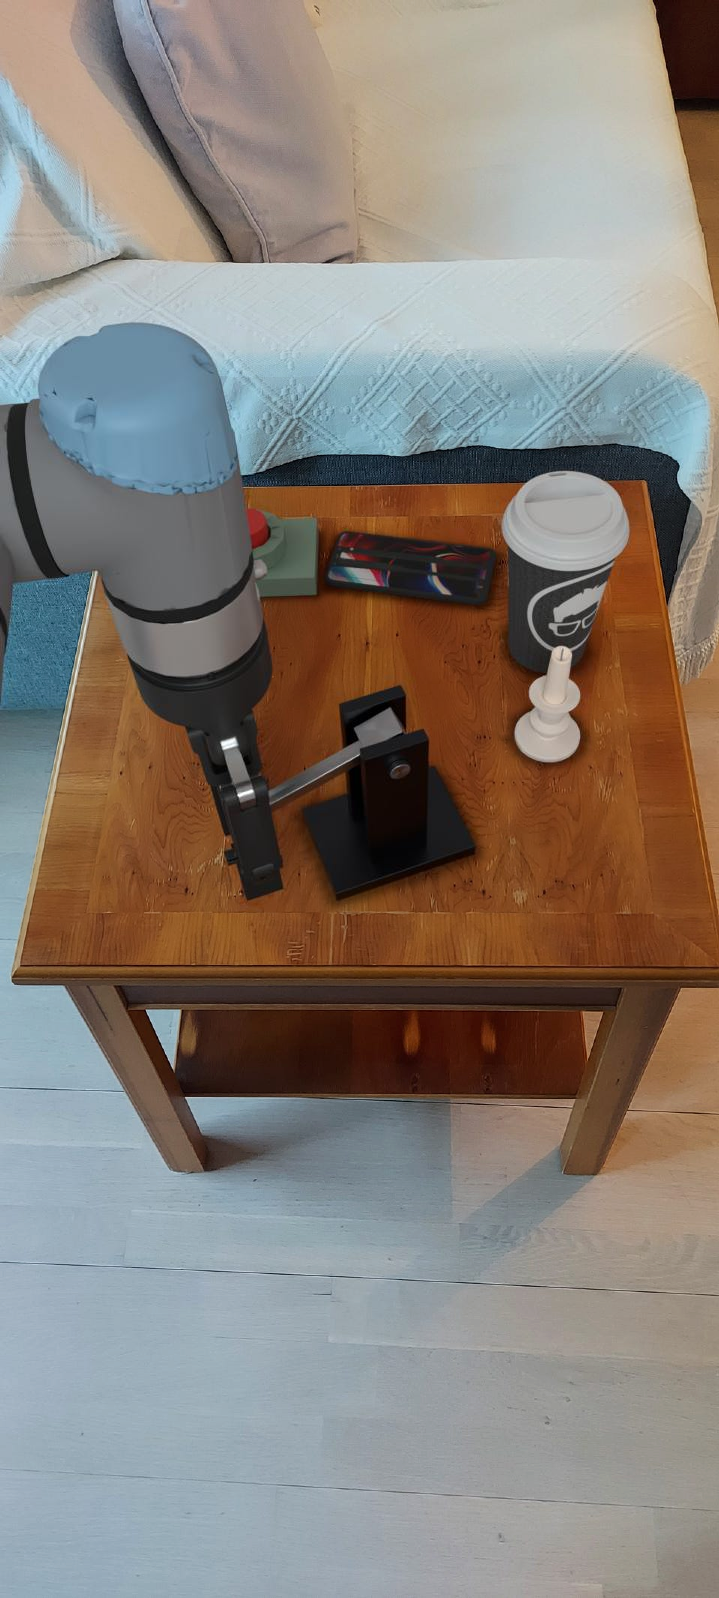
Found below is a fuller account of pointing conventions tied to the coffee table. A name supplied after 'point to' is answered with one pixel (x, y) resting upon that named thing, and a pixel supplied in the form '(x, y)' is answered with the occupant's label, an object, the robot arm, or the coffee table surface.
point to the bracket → (386, 808)
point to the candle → (551, 713)
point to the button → (257, 527)
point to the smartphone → (411, 567)
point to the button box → (289, 557)
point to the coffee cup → (559, 562)
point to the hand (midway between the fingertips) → (252, 857)
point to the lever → (337, 759)
